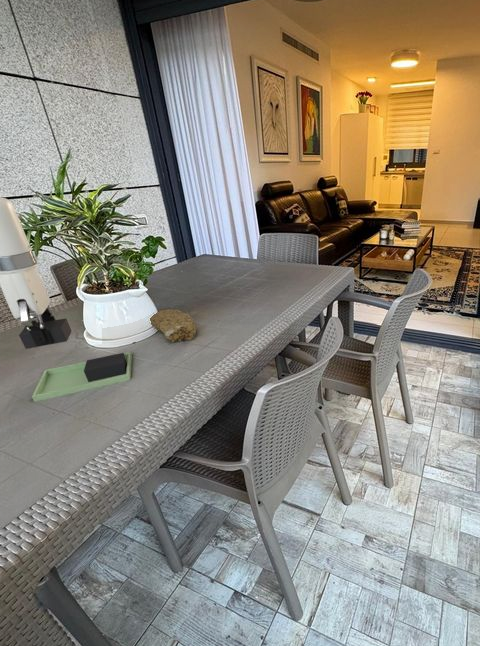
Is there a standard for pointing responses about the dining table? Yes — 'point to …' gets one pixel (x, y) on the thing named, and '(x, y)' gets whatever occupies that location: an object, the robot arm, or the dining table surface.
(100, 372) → the pad
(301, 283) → the dining table surface
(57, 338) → the pad
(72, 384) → the tray
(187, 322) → the sponge
